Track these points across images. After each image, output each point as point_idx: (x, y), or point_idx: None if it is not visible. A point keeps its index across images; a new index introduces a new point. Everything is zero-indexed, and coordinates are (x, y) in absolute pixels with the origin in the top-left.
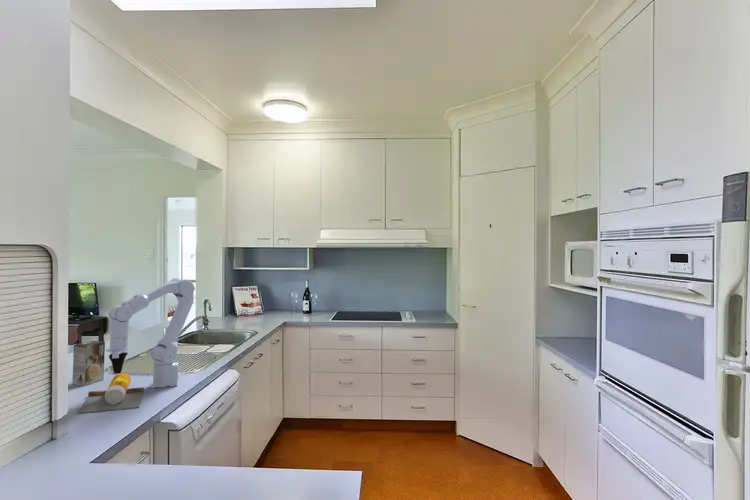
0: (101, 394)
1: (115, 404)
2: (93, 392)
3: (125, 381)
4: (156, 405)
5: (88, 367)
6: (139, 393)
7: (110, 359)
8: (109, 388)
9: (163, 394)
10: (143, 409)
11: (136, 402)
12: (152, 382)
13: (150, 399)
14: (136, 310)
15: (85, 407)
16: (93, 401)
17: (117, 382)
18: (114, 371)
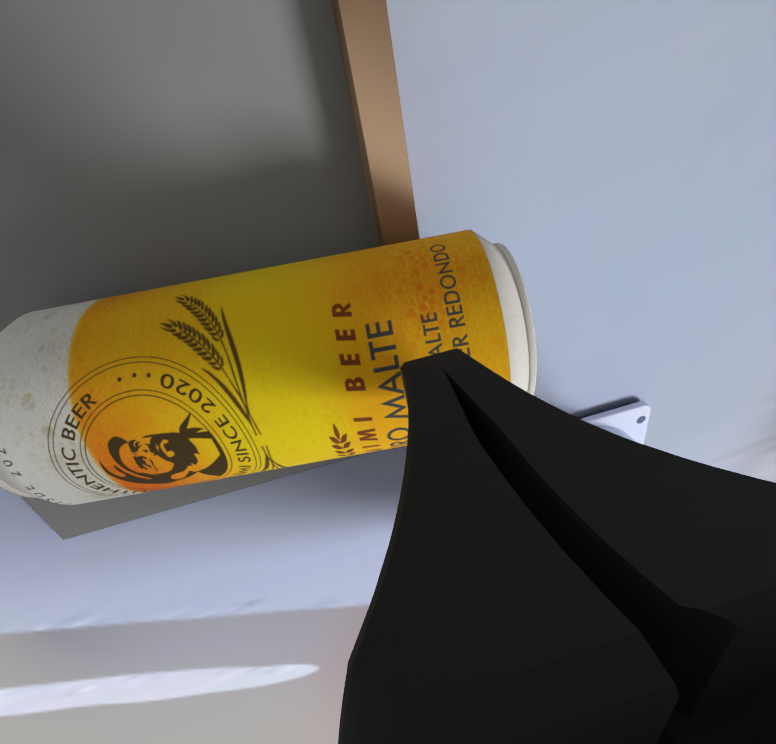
0: (355, 118)
1: None
2: (340, 8)
3: (301, 464)
4: (143, 588)
5: None
6: None
7: (360, 631)
8: (24, 402)
9: (362, 542)
10: (46, 564)
11: (157, 492)
12: (621, 414)
13: (261, 521)
14: None
15: None
16: (120, 116)
17: (174, 452)
18: (407, 390)
